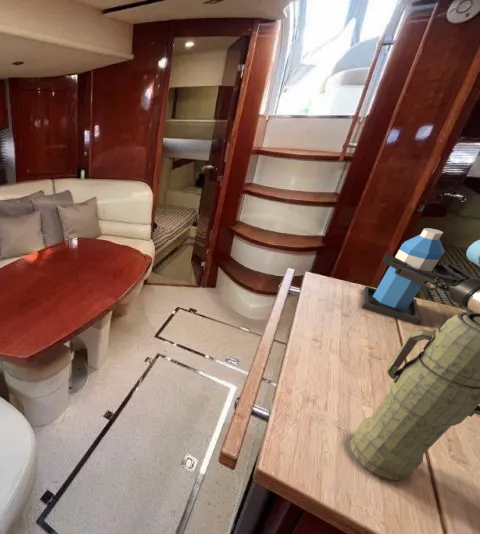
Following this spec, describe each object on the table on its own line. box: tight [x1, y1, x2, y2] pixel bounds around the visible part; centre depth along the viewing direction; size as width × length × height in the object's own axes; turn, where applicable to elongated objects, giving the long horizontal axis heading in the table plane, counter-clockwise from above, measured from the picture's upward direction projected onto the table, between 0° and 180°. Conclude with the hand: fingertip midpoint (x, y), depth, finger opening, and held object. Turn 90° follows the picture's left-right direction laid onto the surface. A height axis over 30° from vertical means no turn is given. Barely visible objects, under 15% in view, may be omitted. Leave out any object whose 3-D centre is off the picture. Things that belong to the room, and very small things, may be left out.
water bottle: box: [373, 227, 445, 309], centre depth 95 cm, size 9×9×25 cm
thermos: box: [347, 311, 480, 483], centre depth 52 cm, size 9×12×35 cm
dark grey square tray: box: [361, 285, 421, 325], centre depth 101 cm, size 13×13×2 cm
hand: (399, 257), depth 98 cm, fingers closed on water bottle, 9 cm apart
